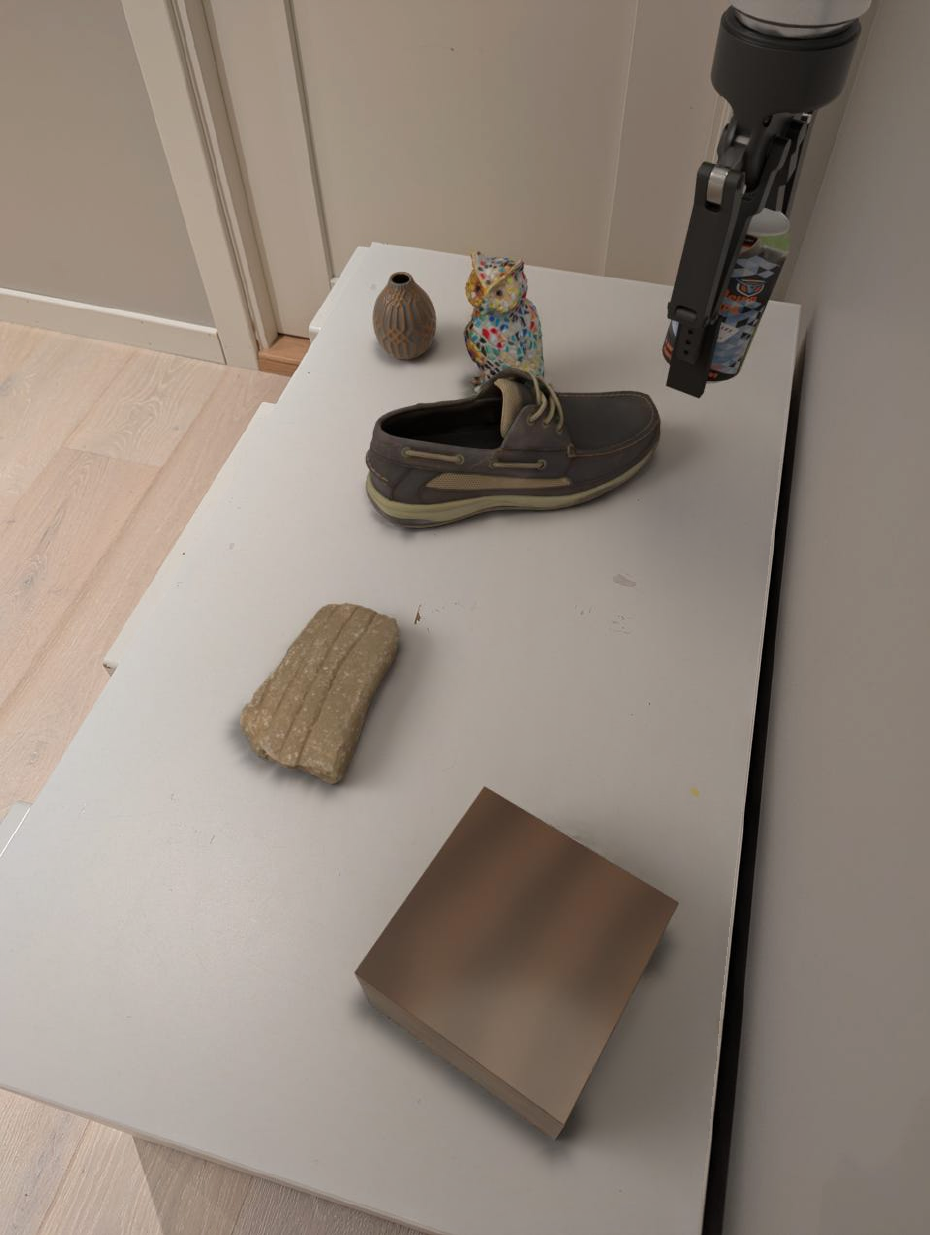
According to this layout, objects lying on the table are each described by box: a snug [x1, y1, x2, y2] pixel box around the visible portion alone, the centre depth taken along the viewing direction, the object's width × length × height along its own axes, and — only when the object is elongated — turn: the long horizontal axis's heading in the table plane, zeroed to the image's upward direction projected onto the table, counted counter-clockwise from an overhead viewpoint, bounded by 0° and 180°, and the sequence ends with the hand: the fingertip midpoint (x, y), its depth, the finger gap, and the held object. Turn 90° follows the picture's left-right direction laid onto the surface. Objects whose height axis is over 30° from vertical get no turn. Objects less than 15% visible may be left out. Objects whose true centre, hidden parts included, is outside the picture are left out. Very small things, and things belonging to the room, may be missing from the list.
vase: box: [372, 271, 437, 361], centre depth 93 cm, size 7×7×9 cm
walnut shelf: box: [354, 785, 680, 1141], centre depth 54 cm, size 14×14×8 cm
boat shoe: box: [365, 368, 662, 529], centre depth 80 cm, size 11×29×11 cm, turn 110°
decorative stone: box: [239, 602, 400, 785], centre depth 69 cm, size 10×16×4 cm, turn 162°
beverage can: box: [661, 208, 791, 385], centre depth 61 cm, size 6×7×12 cm
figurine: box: [463, 249, 545, 396], centre depth 86 cm, size 9×9×15 cm
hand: (707, 360), depth 65 cm, fingers closed on beverage can, 7 cm apart
